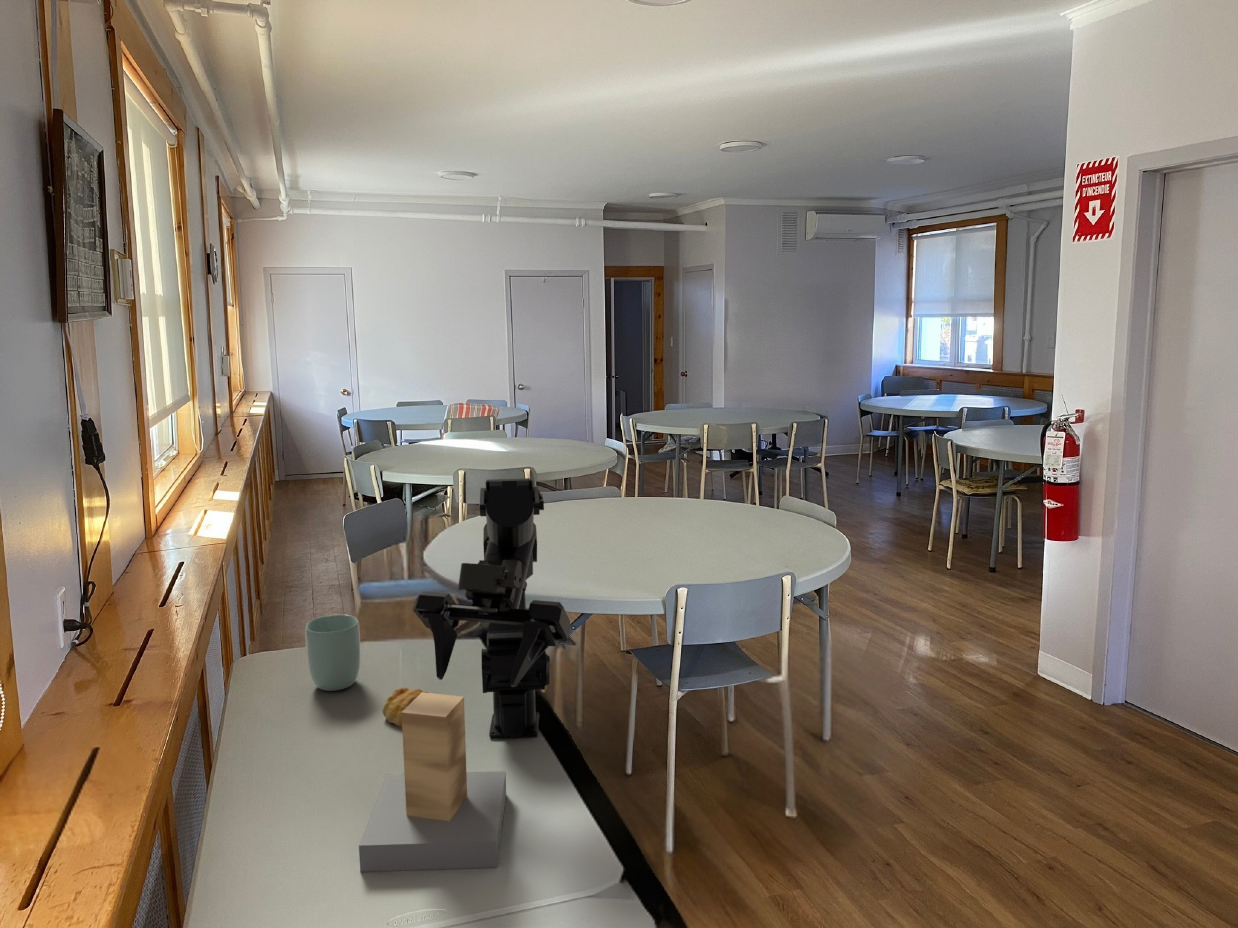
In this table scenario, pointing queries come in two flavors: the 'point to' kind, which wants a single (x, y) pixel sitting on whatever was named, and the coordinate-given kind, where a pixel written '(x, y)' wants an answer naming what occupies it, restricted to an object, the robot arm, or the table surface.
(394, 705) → the pastry
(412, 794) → the oak block
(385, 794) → the plinth
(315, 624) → the cup
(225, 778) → the table surface
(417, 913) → the table surface
